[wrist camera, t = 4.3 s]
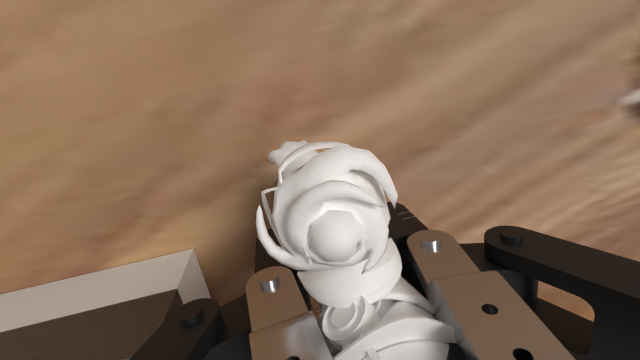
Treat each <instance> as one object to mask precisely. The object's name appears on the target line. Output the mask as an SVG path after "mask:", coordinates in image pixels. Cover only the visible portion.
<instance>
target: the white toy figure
mask: <svg viewBox="0 0 640 360" xmlns="http://www.w3.org/2000/svg"><path fill="white" fill-rule="evenodd" d="M331 147H333V148H331ZM320 148H331V149H329V150H326V151H324V152H321V153H318V152H316V150H315V149H320ZM268 159H269V162H270V163H272V164H274V163H275V164H276V165H277V166H278V167H279V168H278V182H277V187H274V188H270V189H266V190H263V191H261V197H262V203H263V206H264V210H265V213H266V216H267V218H268V221H269V223H270V225H271V228H272V230H273V232H274V234H275V236H276V238H277V240H278V242H279V243H280V245H281V247H282V248H281V247H279V246H277V245H276V244H275V243H274V241H273V240H272V239H271V237H270V236H269V235H268V232H267V229H266V225H265V222H264V218H263V213H262V209H261V207H260V204H259V207H258V209H257V212H256V228H257V234H258V239H259V240H260V242H261V243H262V245H263V247H264V248H265V250H266V251H267V253H268V254H269V255H270V256H271V257H273V258H274V259H275V260H277V261H278V262H280V263H281V264H283V265H286V266H288V267H290V268H293V269H295V270H304V271H306V272H300V271H298V273H297V275H298V277H299V279H300V281H301V282H302V284H303V286H304V288H305V289H306V291H307V292H308V293H309V294H310V295H311V296H312V297H313V298H314V299H315V300H317V301H318V303H319V306H320V309H321V311H322V312H321V313H320V315H319V321H318V326H319V328H320V330H321V332H322V335H323V337H324V340H325V342H326V344H327V347H328V349H329V351H330V354H331V356H332V358H333V360H446V359H447V355H448V350H449V345H448V344H447V343H457V341H456V339H455V337H454V334H455V330H454V329H453V327H451V326H449V325H447V324H445V323H443V322H441V321H437V320H436V319H435V318H434V316H433V315H434V308H433V305H432V304H431V303H430V302H429V301H428V300H427V299H426V298H425V297H424V296H422V295H421V294H420V293H419V292H418V291H417V290H416V289H415V288H414V287H412V286H411V285H410V284H409V283H408V282H407V281H406V280H405V279H404V278H402V276H401V271H402V262H401V257H400V254H399V252H398V249H397V247H396V245H395V243H394V242H393V240H392V238H389V239H388V235H389V229H388V225H389V222H390V219H391V217H390V213H389V210H388V206H387V202H386V199H385V195H384V190H385V192H386V194H387V195H388V197H389V199H390V201H391V203H392V205H393V207H394V208H395V206H396V202H397V198H398V195H397V192H396V190H395V187H394V184H393V182H392V179H391V177H390V175H389V173H388V171H387V169H386V167H385V166H384V165H383V164H382V163H381V162H380V161H379V160H378V159H377V158H376V157H375V156H374V155H373V154H372V153H371V152H370V151H368V150H363V149H358V148H353V147H350V146H349V145H348V144H343V143H338V142H315V143H310V144H309V143H307V142H306V141H305V140H304V141H301V142H284V143H283V144H282V145H281V146H280V147H279V150H275V151H271V152H270V154H269V155H268ZM281 173H282V175H281ZM383 189H384V190H383ZM274 190H276V191H275V192H274V202H273V212H272V214H271V211H270V208H269V206H268V203H267V199H266V196H265V194H266V193H268V192H270V191H274ZM457 344H458V343H457Z"/></svg>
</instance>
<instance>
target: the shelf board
mask: <svg viewBox="0 0 640 360" xmlns="http://www.w3.org/2000/svg"><path fill="white" fill-rule="evenodd" d="M173 289H178V292H179V294H180V297H181V299H182V302H183V304H186V303H188V302H190V301H193V300H196V299H200V298H210V299H211V296H210V293H209V291H208V288H207V285H206V282H205V279H204V277H203V274H202V271H201V268H200V266H199V263H198V260H197V257H196V255H195V252H194V249H190V250H186V251H182V252H178V253H174V254H169V255H165V256H161V257H157V258H152V259H148V260H144V261H140V262H136V263H131V264H127V265H123V266H119V267H114V268H110V269H106V270H102V271H98V272H93V273H89V274H85V275H81V276H76V277H72V278H68V279H64V280H60V281H55V282H51V283H47V284H43V285H38V286H34V287H30V288H26V289H22V290H17V291H13V292H9V293H5V294H0V332H4V331H8V330H12V329H16V328H20V327H24V326H28V325H32V324H36V323H40V322H44V321H48V320H52V319H56V318H60V317H64V316H68V315H72V314H76V313H80V312H84V311H89V310H93V309H97V308H101V307H105V306H109V305H113V304H117V303H121V302H125V301H129V300H133V299H137V298H141V297H145V296H149V295H153V294H157V293H161V292H165V291H169V290H173Z"/></svg>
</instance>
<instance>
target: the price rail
mask: <svg viewBox="0 0 640 360" xmlns="http://www.w3.org/2000/svg"><path fill="white" fill-rule="evenodd" d="M182 305H184V304H183V302H182V299H181V297H180V294H179V292H178V289H173V290H169V291H165V292H161V293H157V294H153V295H149V296H145V297H141V298H137V299H133V300H129V301H125V302H121V303H117V304H113V305H109V306H105V307H101V308H97V309H93V310H89V311H84V312H80V313H76V314H72V315H68V316H64V317H60V318H56V319H52V320H48V321H44V322H40V323H36V324H32V325H28V326H24V327H20V328H16V329H12V330H8V331H4V332H0V360H129V359H130V358H131V357H132V356H133V355H134V354H135V353H136V352H137V351H138V349H139V348H140V347H141V346H142V345H143V344H144V343H145V342H146V341H147V340H148V339H149V338H150V336H151V335H152V334H153V333H154V332H155V331H156V330H157V329H158V328H159V327H160V326H161V325H162V323H163V322H164V321H165V320H166V319H167V318H168V317H169V316H170V315H171V314H172V313H173V312H174V311H175V310H176V309H178V308H179V307H181V306H182Z"/></svg>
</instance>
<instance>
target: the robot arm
mask: <svg viewBox="0 0 640 360" xmlns="http://www.w3.org/2000/svg"><path fill="white" fill-rule="evenodd" d="M387 206H388V210H389V213H390V217H391V219H390V222H389V225H388V229H389V235H388V239H389V238H392V240H393V242H394V243H395V245H396V247H397V249H398V252H399V254H400V257H401V262H402V271H401V276H402V278H404V279H405V280H406V281H407V282H408V283H409V284H410V285H411V286H412V287H414V288H415V289H416V290H417V291H418V292H419V293H420V294H421V295H422V296H424V297H425V298H426V299H427V300H428V301H429V302H430V303H431V304H432V305H433V308H434V315H433V316H434V318H435V319H436V320H437V321H441V322H443V323H445V324H447V325H449V326H451V327H453V329H454V330H455V334H454V337H455V339H456V341H457V343H458V344H457V343H447V344H448V345H449V350H448V355H447V359H446V360H640V262H638V261H635V260H631V259H628V258H624V257H621V256H617V255H614V254H611V253H607V252H604V251H600V250H597V249H593V248H590V247H587V246H583V245H580V244H576V243H573V242H569V241H566V240H563V239H559V238H556V237H552V236H549V235H545V234H542V233H538V232H535V231H532V230H528V229H525V228H521V227H516V226H497V227H493V228H491V229H489V230H487V231H486V232H485V234H484V243H471V244H458V243H457V241H456V240H455V239H454V238H453V237H452V236H451V235H450V234H448V233H446V232H443V231H438V230H429V229H428V228H427V227H425V226H424V225H423V224H422V223H421V222H420V221H419V220H418V219H417V218H416V217H414V215H413V214H412V213H411V212H409V210H408V209H407V208H406V207H405V206H403V205H401V204H399V203H396V206H395V208H394V207H393V205H392V203H391V202H388V203H387ZM267 232H268V235H269V236H270V237H271V239H272V240H273V241H274V243H275V244H276V245H277V246H279V247H281V245H280V243H279V242H278V240H277V238H276V236H275V234H274V232H273V230H272V229H269V230H267ZM281 248H282V247H281ZM298 271H300V272H305V271H304V270H295V269H293V268H290V267H288V266H286V265H283V264H281V263H280V262H278V261H277V260H275V259H274V258H273V257H271V256H270V255H269V254H268V253H267V251H266V250H265V248H264V247H263V245H262V243H261V242H260V240H259V239H258V238H257V240H256V257H255V273H254V275H253V276H252V277H250V279H249V280H248V281H247V283H246V293H245V294H244V295H242V296H241V297H240V298H238V299H236V300H234V301H232V302H230V303H228V304H226V305H224V306H222V307H220V308H219V305H218V303H217V302H216V301H215V300H213V299H210V298H200V299H196V300H193V301H190V302H188V303H186V304H184V305H182V306H181V307H179V308H178V309H176V310H175V311H174V312H173V313H172V314H171V315H170V316H169V317H168V318H167V319H166V320H165V321H164V322H163V323H162V325H161V326H160V327H159V328H158V329H157V330H156V331H155V332H154V333H153V334H152V335H151V336H150V338H149V339H148V340H147V341H146V342H145V343H144V344H143V345H142V346H141V347H140V348H139V349H138V351H137V352H136V353H135V354H134V355H133V356H132V357H131V358H130V359H129V360H333V358H332V356H331V354H330V351H329V349H328V347H327V344H326V342H325V340H324V337H323V335H322V333H321V330H320V328H319V326H318V323H317V321H316V319H315V316H314V314H313V312H312V307H311V302H310V297H309V293H308V292H307V291H306V289H305V288H304V286H303V284H302V282H301V281H300V279H299V277H298V275H297V273H298ZM538 280H539V281H541V282H544V283H546V284H549V285H551V286H554V287H556V288H559V289H561V290H564V291H566V292H569V293H571V294H574V295H576V296H579V297H581V298H582V299H584V300H585V301H587V302H588V303H589V304H590V305H591V307H592V308H593V310H594V313H595V319H594V322H592V321H590V320H588V319H585V318H583V317H581V316H578V315H576V314H574V313H572V312H569V311H567V310H565V309H563V308H560V307H558V306H556V305H553V304H551V303H549V302H547V301H544V300H542V299H540V298H538V297H537V292H538Z"/></svg>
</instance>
